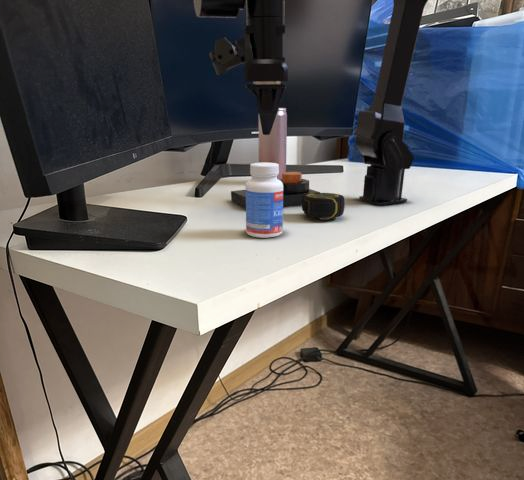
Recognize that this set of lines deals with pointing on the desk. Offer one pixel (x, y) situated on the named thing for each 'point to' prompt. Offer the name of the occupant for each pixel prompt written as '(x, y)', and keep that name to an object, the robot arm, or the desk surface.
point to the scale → (290, 193)
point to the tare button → (291, 177)
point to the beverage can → (274, 142)
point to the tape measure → (323, 205)
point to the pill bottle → (264, 201)
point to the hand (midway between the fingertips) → (266, 132)
